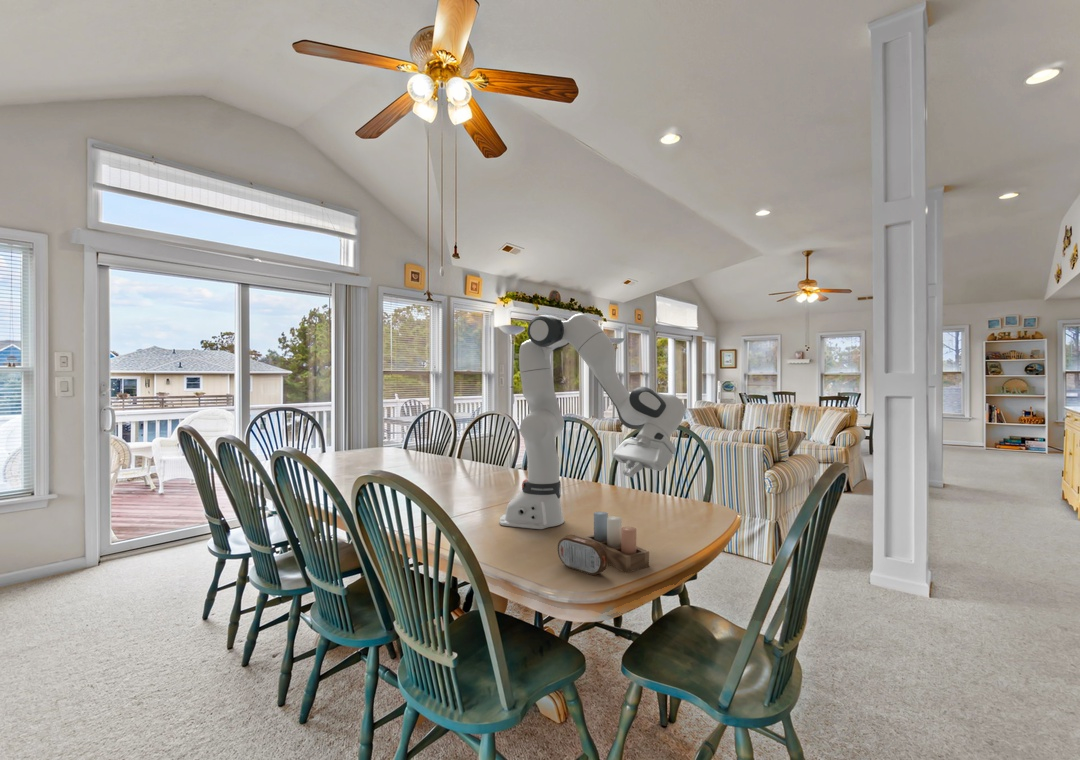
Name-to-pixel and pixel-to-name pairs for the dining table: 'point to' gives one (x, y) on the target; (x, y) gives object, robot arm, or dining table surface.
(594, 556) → the tin
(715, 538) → the dining table surface
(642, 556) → the three candle holder
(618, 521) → the white pillar candle
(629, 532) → the salmon pink capsule
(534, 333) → the robot arm
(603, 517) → the blue grey capsule
